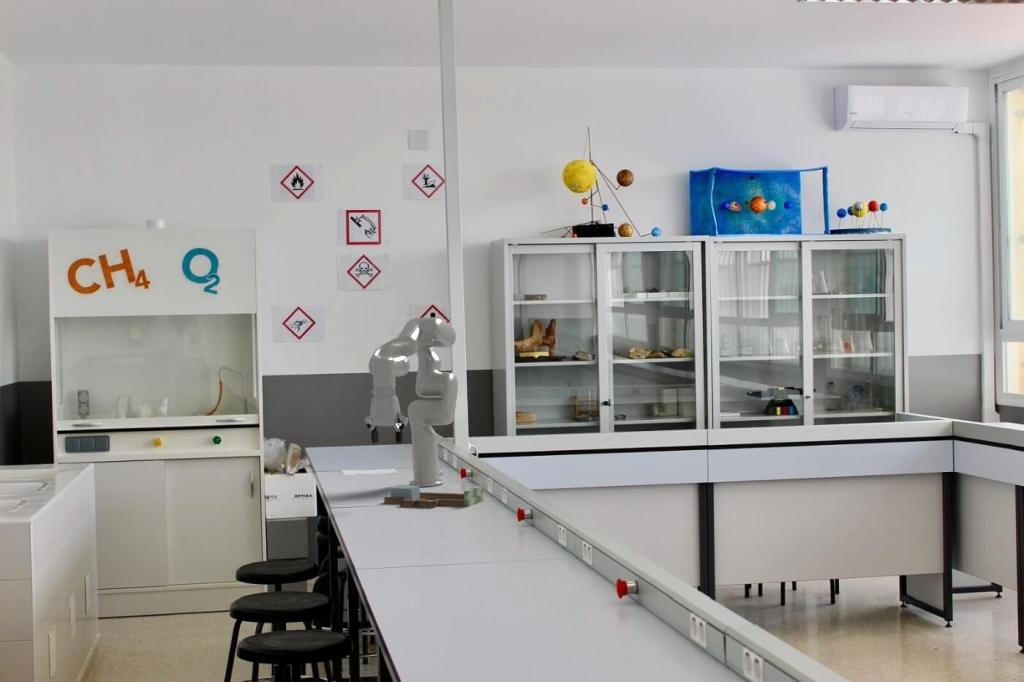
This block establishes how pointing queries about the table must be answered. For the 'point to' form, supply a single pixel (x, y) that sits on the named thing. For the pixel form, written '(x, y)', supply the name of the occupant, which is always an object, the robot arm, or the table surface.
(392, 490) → the slate block
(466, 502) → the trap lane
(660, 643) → the table surface
